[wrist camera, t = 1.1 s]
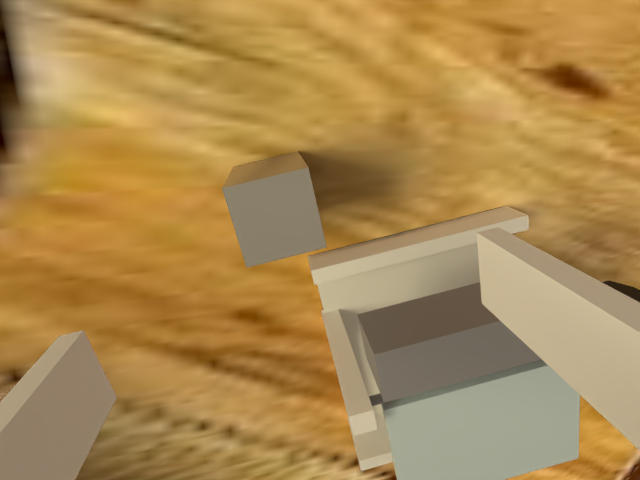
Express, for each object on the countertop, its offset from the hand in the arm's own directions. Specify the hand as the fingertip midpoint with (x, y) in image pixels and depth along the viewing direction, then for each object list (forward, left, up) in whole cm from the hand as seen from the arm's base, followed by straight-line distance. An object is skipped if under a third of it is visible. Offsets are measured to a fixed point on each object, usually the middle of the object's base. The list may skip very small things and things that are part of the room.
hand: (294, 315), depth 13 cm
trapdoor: (+10, -12, -8) cm, 17 cm away
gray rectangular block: (0, 0, -19) cm, 19 cm away
